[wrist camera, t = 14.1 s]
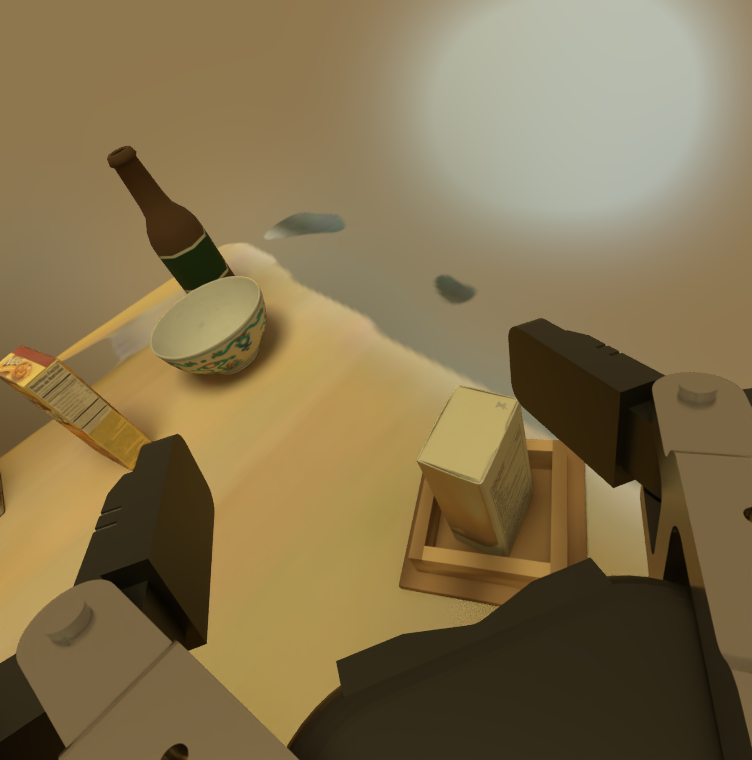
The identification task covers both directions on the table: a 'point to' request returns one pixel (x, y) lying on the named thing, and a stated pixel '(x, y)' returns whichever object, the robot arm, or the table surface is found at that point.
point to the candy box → (72, 404)
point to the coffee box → (1, 500)
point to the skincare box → (480, 468)
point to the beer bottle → (170, 226)
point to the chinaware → (213, 327)
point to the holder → (530, 550)
